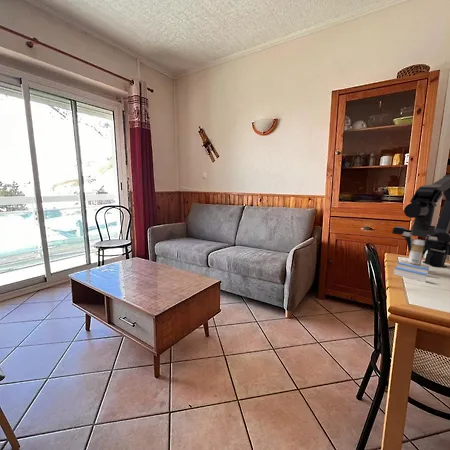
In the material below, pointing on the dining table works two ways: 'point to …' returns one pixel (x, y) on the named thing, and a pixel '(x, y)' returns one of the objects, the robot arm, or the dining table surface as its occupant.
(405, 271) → the rail comb
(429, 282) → the dining table surface
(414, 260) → the sprinkles bottle
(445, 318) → the dining table surface
